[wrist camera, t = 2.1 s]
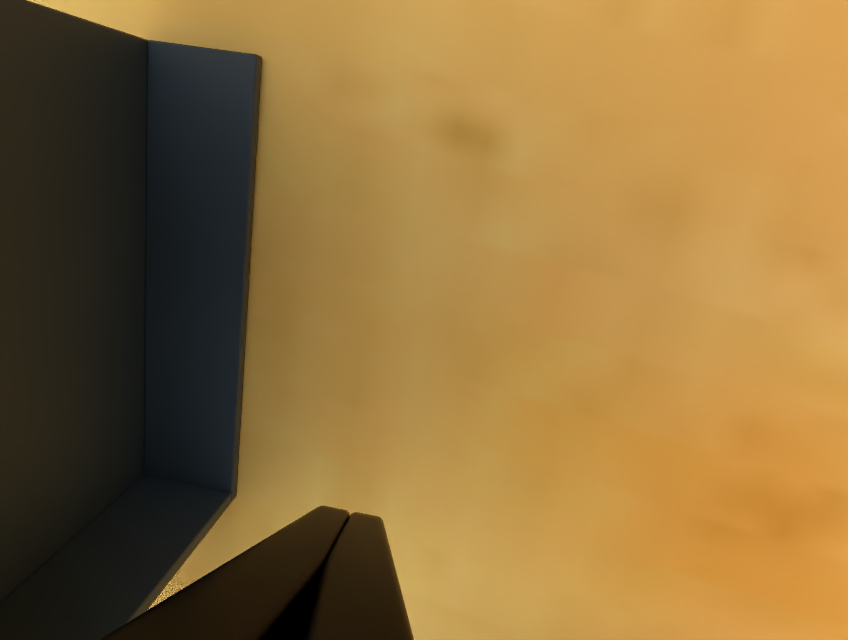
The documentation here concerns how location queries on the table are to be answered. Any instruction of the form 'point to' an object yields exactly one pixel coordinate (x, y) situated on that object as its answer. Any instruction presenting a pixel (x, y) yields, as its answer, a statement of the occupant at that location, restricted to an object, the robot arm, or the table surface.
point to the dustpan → (116, 312)
